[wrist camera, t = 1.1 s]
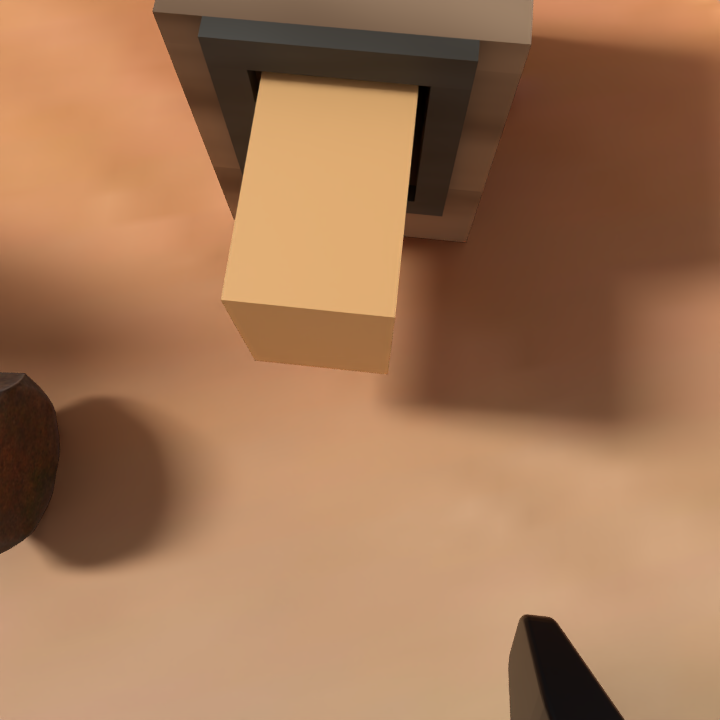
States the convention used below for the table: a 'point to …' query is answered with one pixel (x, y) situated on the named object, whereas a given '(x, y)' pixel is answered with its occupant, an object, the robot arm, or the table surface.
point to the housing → (361, 62)
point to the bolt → (25, 456)
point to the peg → (322, 221)
